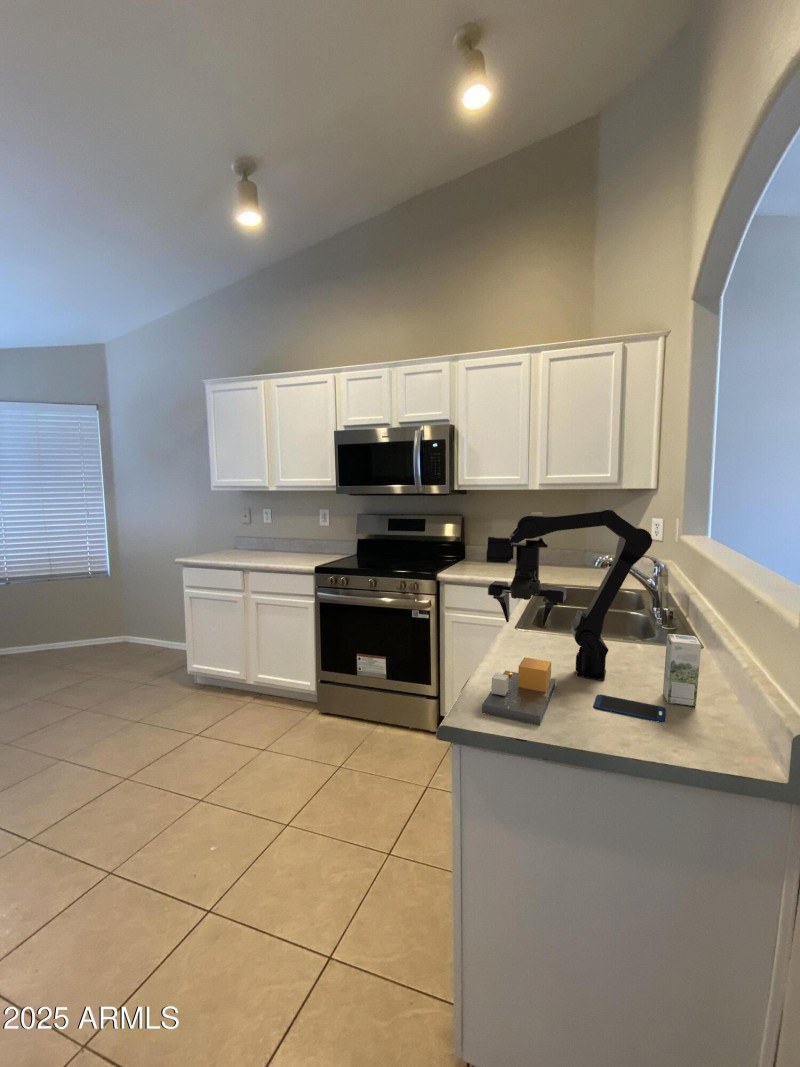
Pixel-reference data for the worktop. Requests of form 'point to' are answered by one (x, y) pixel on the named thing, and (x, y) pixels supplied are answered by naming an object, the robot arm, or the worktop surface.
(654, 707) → the cell phone
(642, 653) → the worktop surface
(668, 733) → the worktop surface
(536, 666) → the orange squarish block
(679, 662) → the syrup box
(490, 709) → the panel
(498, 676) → the block
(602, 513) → the robot arm
